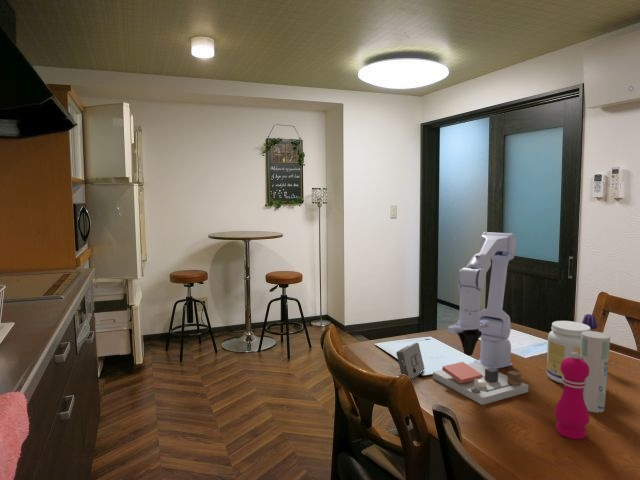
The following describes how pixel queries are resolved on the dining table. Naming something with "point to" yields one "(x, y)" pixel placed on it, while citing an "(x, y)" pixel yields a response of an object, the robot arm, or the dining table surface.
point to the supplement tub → (563, 345)
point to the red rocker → (462, 372)
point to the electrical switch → (410, 360)
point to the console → (482, 386)
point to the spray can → (595, 368)
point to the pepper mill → (572, 399)
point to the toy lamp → (590, 321)
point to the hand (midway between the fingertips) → (468, 354)
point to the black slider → (491, 375)
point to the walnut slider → (514, 378)
